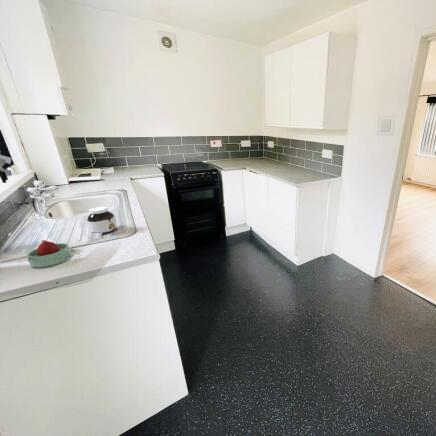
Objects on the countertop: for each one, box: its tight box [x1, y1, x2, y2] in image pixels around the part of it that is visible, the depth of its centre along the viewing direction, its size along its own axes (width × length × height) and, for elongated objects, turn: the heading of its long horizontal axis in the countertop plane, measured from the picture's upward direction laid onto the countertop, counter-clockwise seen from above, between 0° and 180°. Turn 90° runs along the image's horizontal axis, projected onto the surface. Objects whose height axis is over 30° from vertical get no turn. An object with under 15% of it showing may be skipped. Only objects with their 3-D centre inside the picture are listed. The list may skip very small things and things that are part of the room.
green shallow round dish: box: [26, 242, 72, 269], centre depth 90 cm, size 11×11×4 cm
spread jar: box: [86, 206, 118, 236], centre depth 116 cm, size 12×11×12 cm
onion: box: [36, 239, 60, 256], centre depth 90 cm, size 6×6×8 cm
